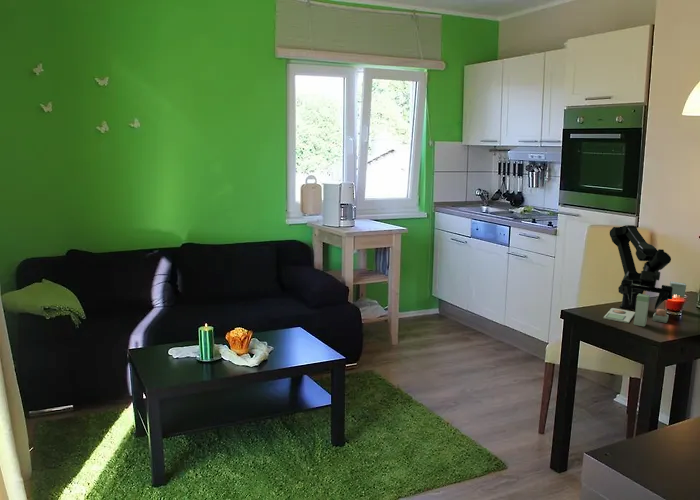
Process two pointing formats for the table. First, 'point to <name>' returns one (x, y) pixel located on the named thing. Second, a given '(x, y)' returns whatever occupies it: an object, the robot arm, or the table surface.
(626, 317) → the picture board
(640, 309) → the pale green tall box
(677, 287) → the skincare box
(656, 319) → the button housing
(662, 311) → the button
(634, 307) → the robot arm
